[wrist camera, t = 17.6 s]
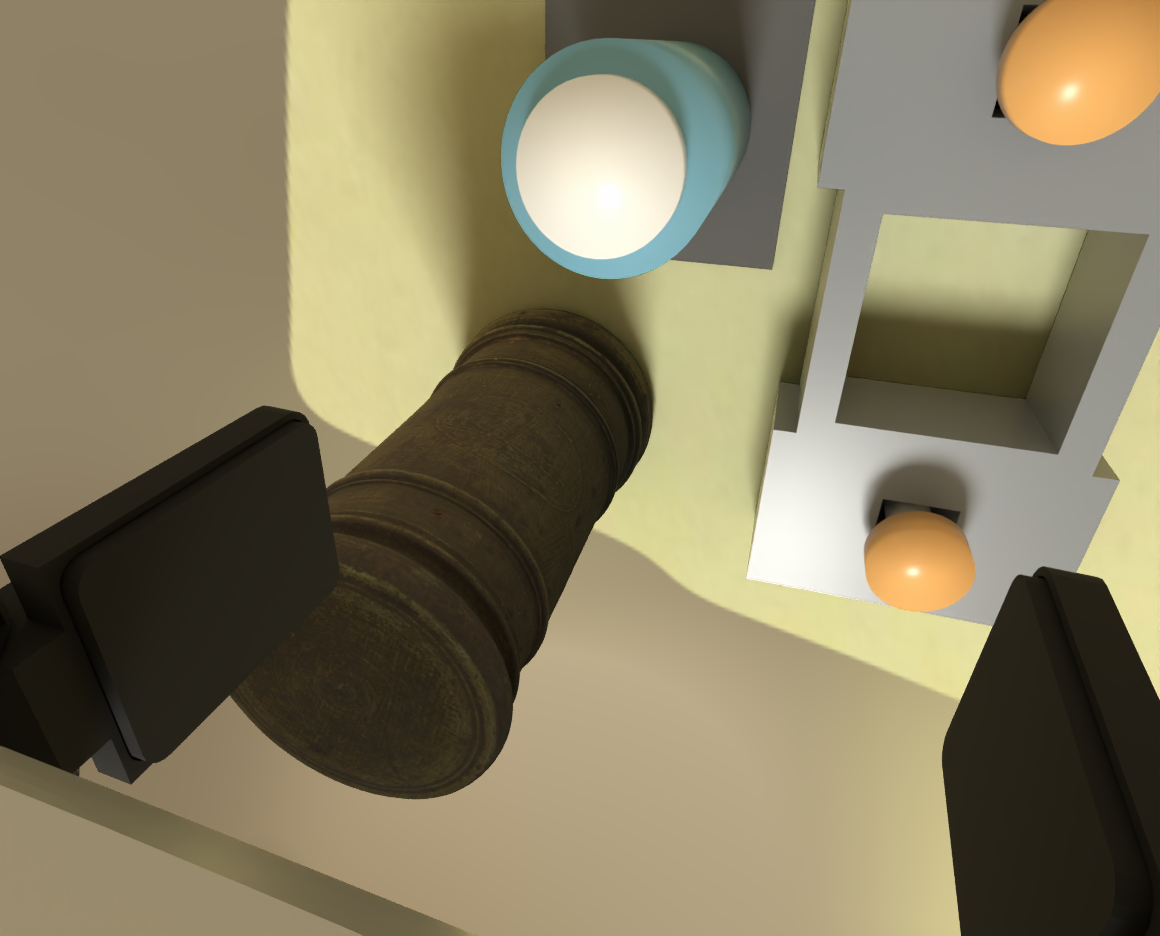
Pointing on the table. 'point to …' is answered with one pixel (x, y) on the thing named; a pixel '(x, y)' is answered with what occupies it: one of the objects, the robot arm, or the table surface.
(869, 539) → the orange mushroom peg
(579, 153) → the cartridge
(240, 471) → the robot arm
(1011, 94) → the plunger
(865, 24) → the housing
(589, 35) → the mat
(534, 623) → the container
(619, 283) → the table surface
